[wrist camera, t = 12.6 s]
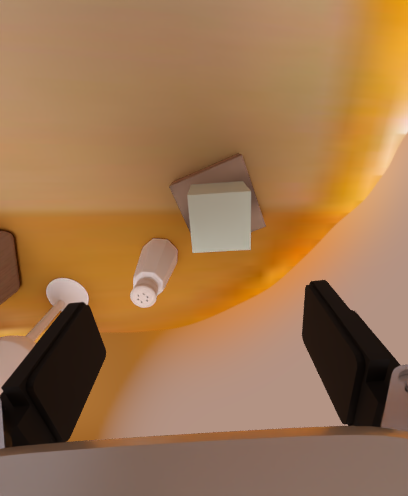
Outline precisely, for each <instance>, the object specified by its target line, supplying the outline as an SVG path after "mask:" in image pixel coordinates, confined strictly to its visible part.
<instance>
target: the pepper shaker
mask: <svg viewBox="0 0 408 496" xmlns="http://www.w3.org/2000/svg"><path fill="white" fill-rule="evenodd" d="M177 253H178V250H177V249H176V247H175V246H174V245H173V244H172V243H171V242H170V241H169V240H167V239H155V238H153V239H152V240H151V241H149V242H148V243H147V244H146V245H145V246H144V247H143V249H142V252H141V255H140V258H139V261H138V264H137V267H136V271H135V274H134V278H133V285H134V288H133V290H132V291H131V294H130V298H131V300H132V302H133V303H134V304H135V305H137V306H139V307H144V308H146V307H150V306H152V305H153V304H154V303H155V302H156V298H157V295H158V294H160V293H161V292H162V291H163V290H164V288H165V286H166V284H167V282H168V280H169V278H170V276H171V274H172V272H173V270H174V268H175V266H176V264H177Z"/></svg>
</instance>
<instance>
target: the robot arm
mask: <svg viewBox="0 0 408 496" xmlns="http://www.w3.org/2000/svg"><path fill="white" fill-rule="evenodd" d="M302 337H303V341H304V344H305V346H306V348H307V350H308V352H309V354H310V357H311V359H312V361H313V363H314V365H315V367H316V369H317V371H318V374H319V376H320V378H321V379H322V382H323V384H324V386H325V388H326V390H327V393H328V395H329V397H330V399H331V401H332V403H333V405H334V407H335V409H336V411H337V414H338V416H339V418H340V420H341V422H342V423H343V424H348V426H330V427H304V428H284V429H267V430H266V429H265V430H248V431H230V432H213V433H198V434H182V435H165V436H149V437H133V438H119V439H105V440H89V441H75V442H66V441H68V439H69V438H70V436H71V434H72V432H73V430H74V427H75V425H76V423H77V421H78V418H79V416H80V414H81V412H82V409H83V407H84V405H85V403H86V400H87V398H88V396H89V394H90V391H91V389H92V387H93V385H94V382H95V380H96V378H97V376H98V373H99V371H100V369H101V367H102V364H103V362H104V360H105V357H106V350H105V347H104V344H103V341H102V338H101V336H100V333H99V330H98V328H97V325H96V322H95V320H94V317H93V314H92V312H91V309H90V307H89V305H86V304H85V303H84V302H76V303H69V304H68V305H67V306H66V307H65V308H64V310H63V311H62V312H61V313H60V315H59V316H58V317H57V318H56V320H55V321H54V322H53V323H52V325H51V326H50V327H49V328H48V330H47V331H46V332H45V333H44V335H43V336H42V337H41V338H40V340H39V341H38V342H37V343H36V345H35V346H34V347H33V348H32V350H31V351H30V352H29V353H28V355H27V356H26V357H25V358H24V360H23V361H22V362H21V363H20V365H19V366H18V367H17V368H16V370H15V371H14V372H13V373H12V375H11V376H10V377H9V378H8V380H7V381H6V382H5V383H4V385H3V386H2V387H1V389H2V390H3V392H2V394H1V395H0V496H408V365H400V364H399V363H398V362H397V360H396V359H395V358H394V357H393V356H392V354H391V353H390V352H389V351H388V350H387V348H386V347H385V346H384V345H383V344H382V343H381V341H380V340H379V339H378V338H377V337H376V336H375V334H374V333H373V332H372V331H371V330H370V328H368V326H367V325H366V324H365V322H364V321H363V320H362V319H361V318H360V317H359V315H358V314H357V313H356V312H355V311H353V310H350V309H349V308H348V307H347V305H346V304H345V303H344V302H343V300H342V299H341V298H340V297H339V295H338V294H337V293H336V292H335V291H334V290H333V288H332V287H331V286H330V285H329V283H328V282H327V281H325V280H320V281H311V282H310V284H309V285H306V288H305V300H304V315H303V329H302Z"/></svg>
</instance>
